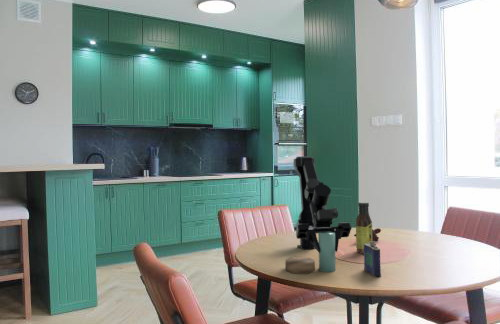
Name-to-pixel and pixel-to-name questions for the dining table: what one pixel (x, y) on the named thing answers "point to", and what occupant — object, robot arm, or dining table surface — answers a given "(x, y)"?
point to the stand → (300, 265)
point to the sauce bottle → (363, 227)
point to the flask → (372, 259)
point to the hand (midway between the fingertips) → (328, 251)
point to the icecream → (374, 234)
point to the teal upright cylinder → (327, 251)
